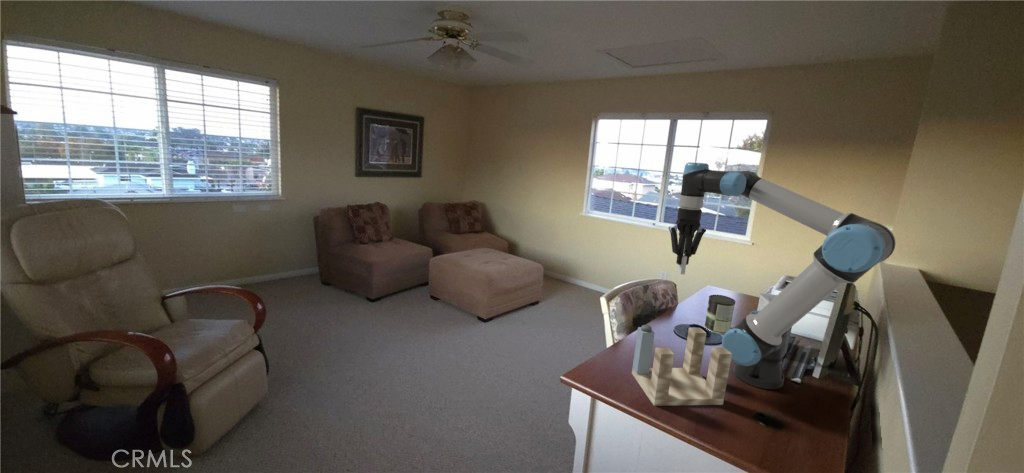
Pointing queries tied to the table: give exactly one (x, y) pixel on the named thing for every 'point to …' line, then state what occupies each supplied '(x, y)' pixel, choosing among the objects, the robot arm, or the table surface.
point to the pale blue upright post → (643, 349)
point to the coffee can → (719, 314)
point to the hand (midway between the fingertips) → (680, 273)
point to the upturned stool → (687, 375)
